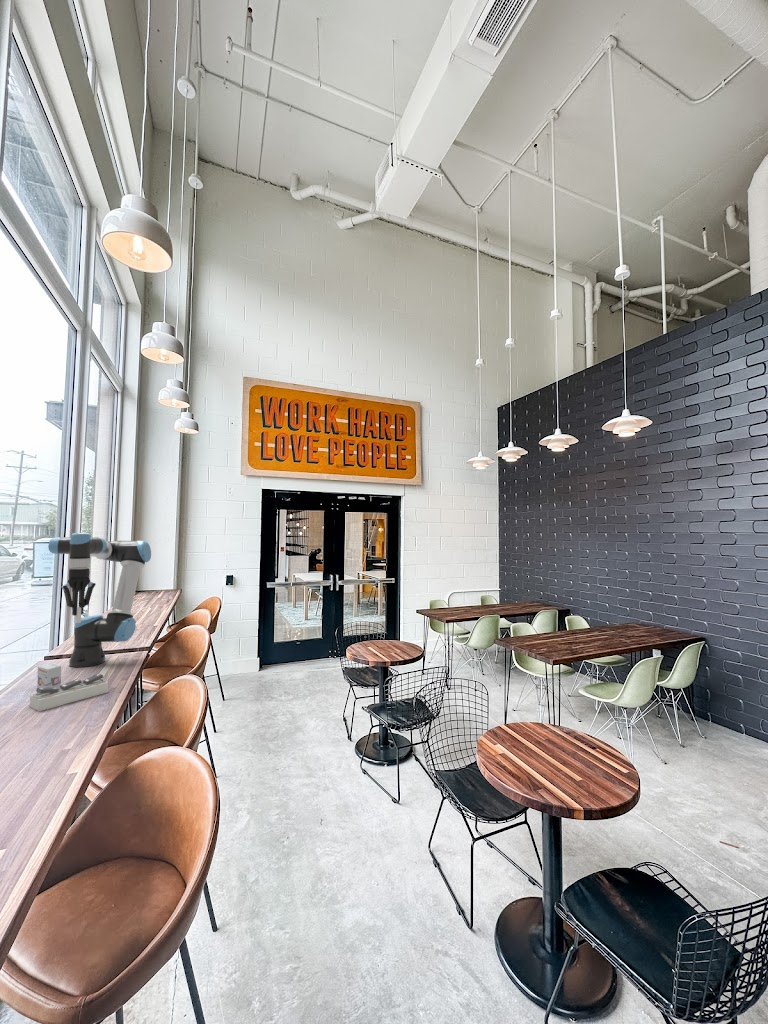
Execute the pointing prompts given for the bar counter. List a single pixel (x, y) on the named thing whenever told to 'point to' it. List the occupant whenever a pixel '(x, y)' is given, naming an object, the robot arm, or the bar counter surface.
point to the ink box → (49, 676)
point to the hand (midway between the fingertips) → (77, 622)
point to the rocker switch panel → (68, 695)
